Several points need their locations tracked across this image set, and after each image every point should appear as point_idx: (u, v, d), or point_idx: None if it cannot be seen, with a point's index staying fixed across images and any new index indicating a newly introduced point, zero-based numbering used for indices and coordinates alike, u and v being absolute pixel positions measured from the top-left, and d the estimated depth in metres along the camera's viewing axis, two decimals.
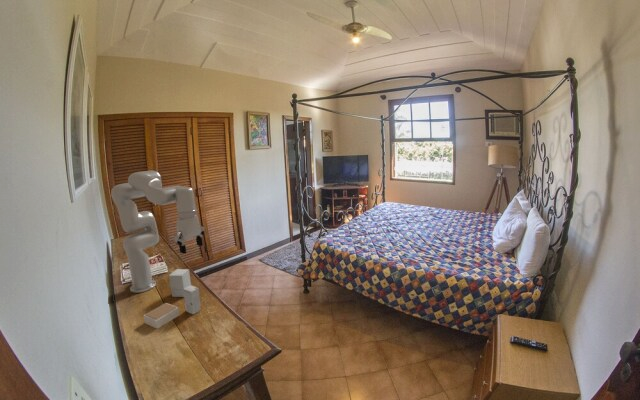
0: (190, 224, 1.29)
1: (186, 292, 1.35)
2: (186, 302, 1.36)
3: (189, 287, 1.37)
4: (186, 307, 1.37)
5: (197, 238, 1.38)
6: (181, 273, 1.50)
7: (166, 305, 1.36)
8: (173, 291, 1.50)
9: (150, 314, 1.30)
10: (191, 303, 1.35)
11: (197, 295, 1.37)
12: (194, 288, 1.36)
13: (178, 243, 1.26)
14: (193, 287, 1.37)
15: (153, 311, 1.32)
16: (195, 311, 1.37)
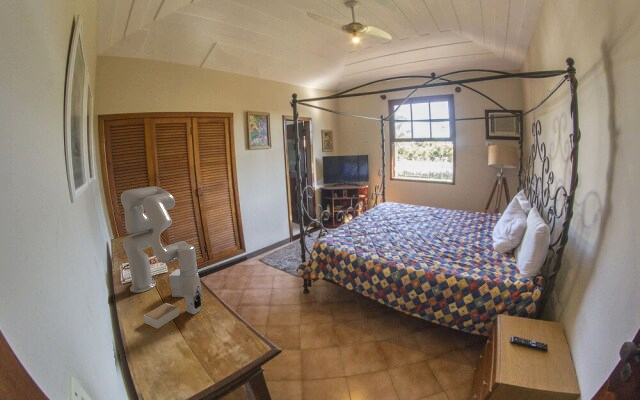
0: None
1: None
2: (187, 302, 1.36)
3: None
4: (186, 307, 1.37)
5: None
6: None
7: (166, 305, 1.36)
8: (173, 291, 1.50)
9: (150, 314, 1.30)
10: (191, 303, 1.35)
11: (197, 295, 1.36)
12: None
13: (201, 296, 1.35)
14: None
15: (153, 311, 1.32)
16: (195, 311, 1.37)
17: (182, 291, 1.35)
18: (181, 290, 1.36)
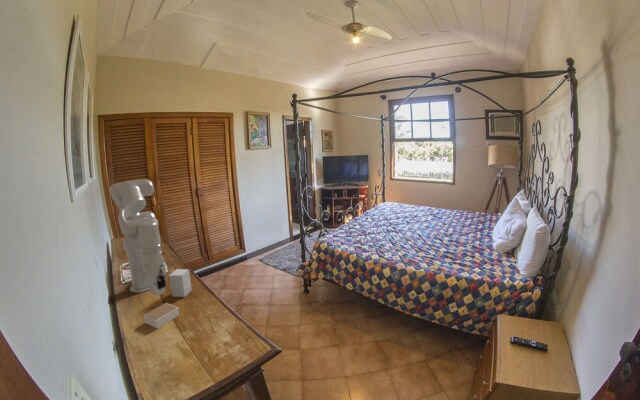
0: None
1: None
2: (150, 283, 1.27)
3: None
4: (150, 288, 1.28)
5: None
6: (181, 273, 1.50)
7: (166, 305, 1.36)
8: (173, 291, 1.50)
9: (150, 314, 1.30)
10: (154, 284, 1.26)
11: (161, 275, 1.27)
12: None
13: (165, 276, 1.26)
14: None
15: (153, 311, 1.32)
16: (159, 292, 1.27)
17: (144, 270, 1.26)
18: (143, 269, 1.26)
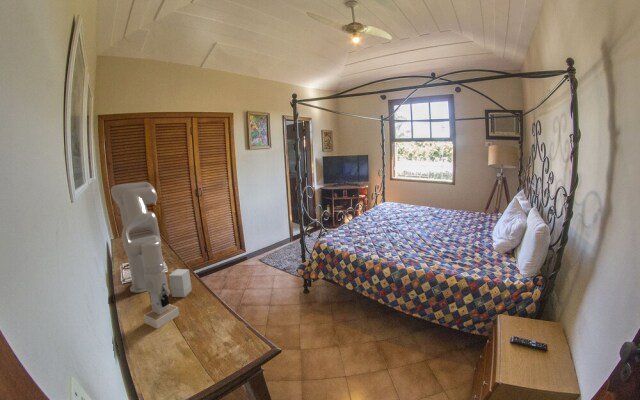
0: None
1: None
2: (153, 302, 1.29)
3: None
4: (153, 307, 1.30)
5: None
6: (181, 273, 1.50)
7: None
8: (173, 291, 1.50)
9: (150, 314, 1.30)
10: (157, 303, 1.28)
11: (164, 294, 1.30)
12: None
13: (168, 294, 1.28)
14: None
15: None
16: (162, 311, 1.30)
17: (147, 289, 1.28)
18: (146, 288, 1.28)
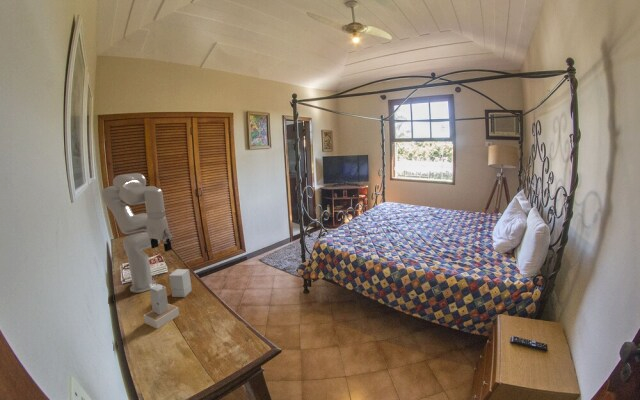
0: None
1: (152, 291, 1.28)
2: (153, 302, 1.29)
3: (156, 286, 1.30)
4: (153, 307, 1.30)
5: (153, 240, 1.38)
6: (181, 273, 1.50)
7: None
8: (173, 291, 1.50)
9: (150, 314, 1.30)
10: (157, 303, 1.28)
11: (164, 294, 1.30)
12: (161, 287, 1.29)
13: (171, 239, 1.33)
14: (160, 286, 1.30)
15: None
16: (162, 311, 1.30)
17: (150, 235, 1.34)
18: (149, 234, 1.34)
